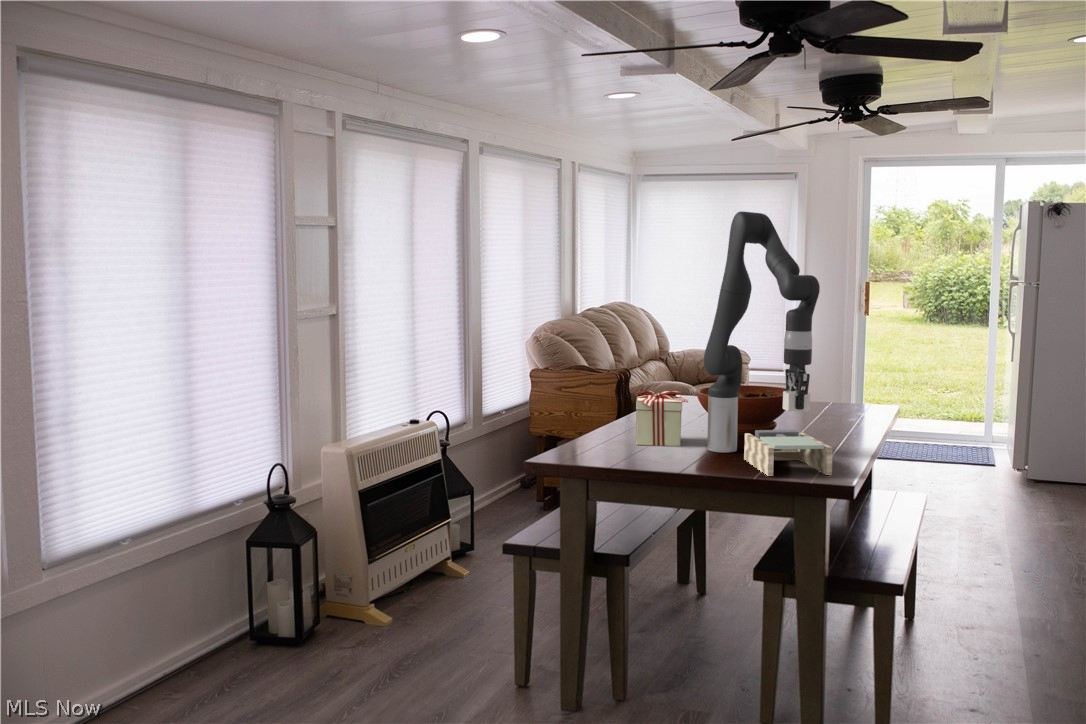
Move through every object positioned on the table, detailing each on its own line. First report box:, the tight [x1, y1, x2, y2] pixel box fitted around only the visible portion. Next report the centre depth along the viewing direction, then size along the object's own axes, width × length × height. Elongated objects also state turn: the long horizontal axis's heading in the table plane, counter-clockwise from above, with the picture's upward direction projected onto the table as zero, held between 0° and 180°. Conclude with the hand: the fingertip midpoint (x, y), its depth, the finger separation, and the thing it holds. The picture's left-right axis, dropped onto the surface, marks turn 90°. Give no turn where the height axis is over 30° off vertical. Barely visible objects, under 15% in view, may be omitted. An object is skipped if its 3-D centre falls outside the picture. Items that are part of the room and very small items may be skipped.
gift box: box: [635, 390, 689, 447], centre depth 312 cm, size 17×18×17 cm
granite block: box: [782, 390, 811, 412], centre depth 264 cm, size 5×6×5 cm
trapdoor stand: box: [743, 432, 834, 477], centre depth 273 cm, size 24×18×8 cm
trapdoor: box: [754, 429, 824, 450], centre depth 273 cm, size 22×14×4 cm, turn 3°
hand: (796, 407), depth 264 cm, fingers closed on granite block, 5 cm apart
